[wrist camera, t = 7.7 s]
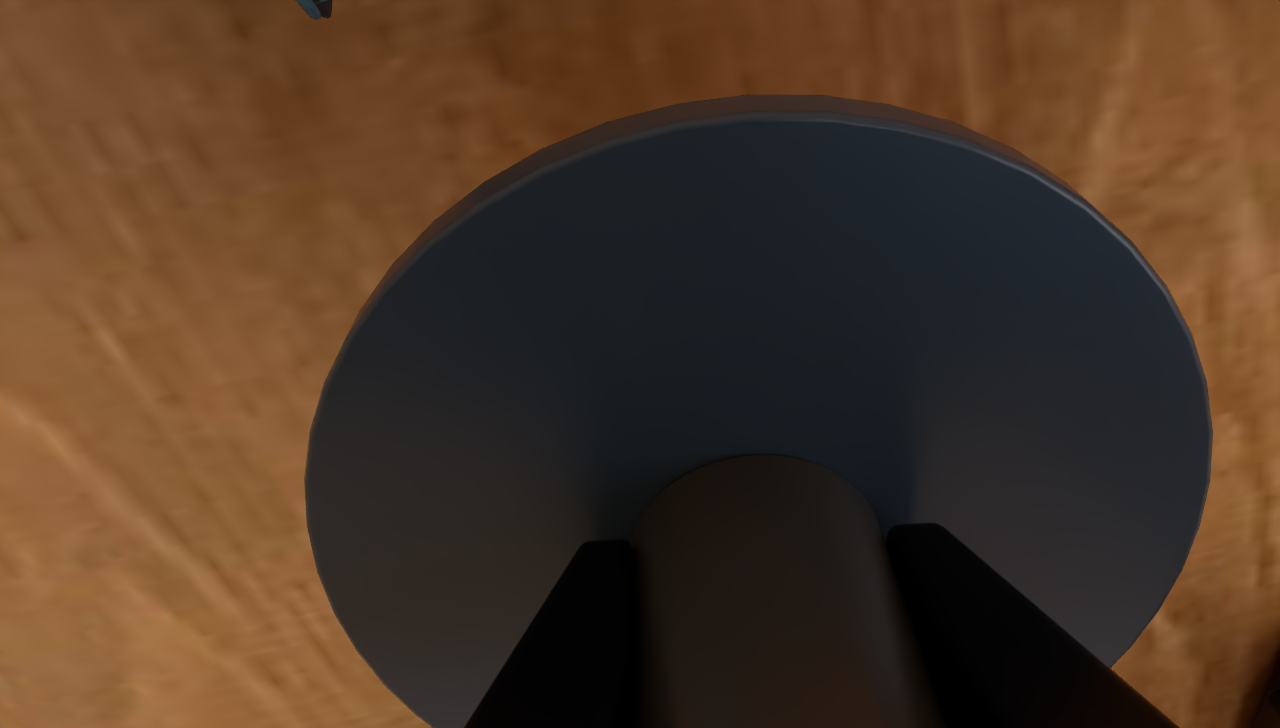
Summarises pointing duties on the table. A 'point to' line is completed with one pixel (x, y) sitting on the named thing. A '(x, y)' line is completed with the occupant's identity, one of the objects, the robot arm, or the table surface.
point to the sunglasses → (316, 8)
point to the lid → (754, 411)
